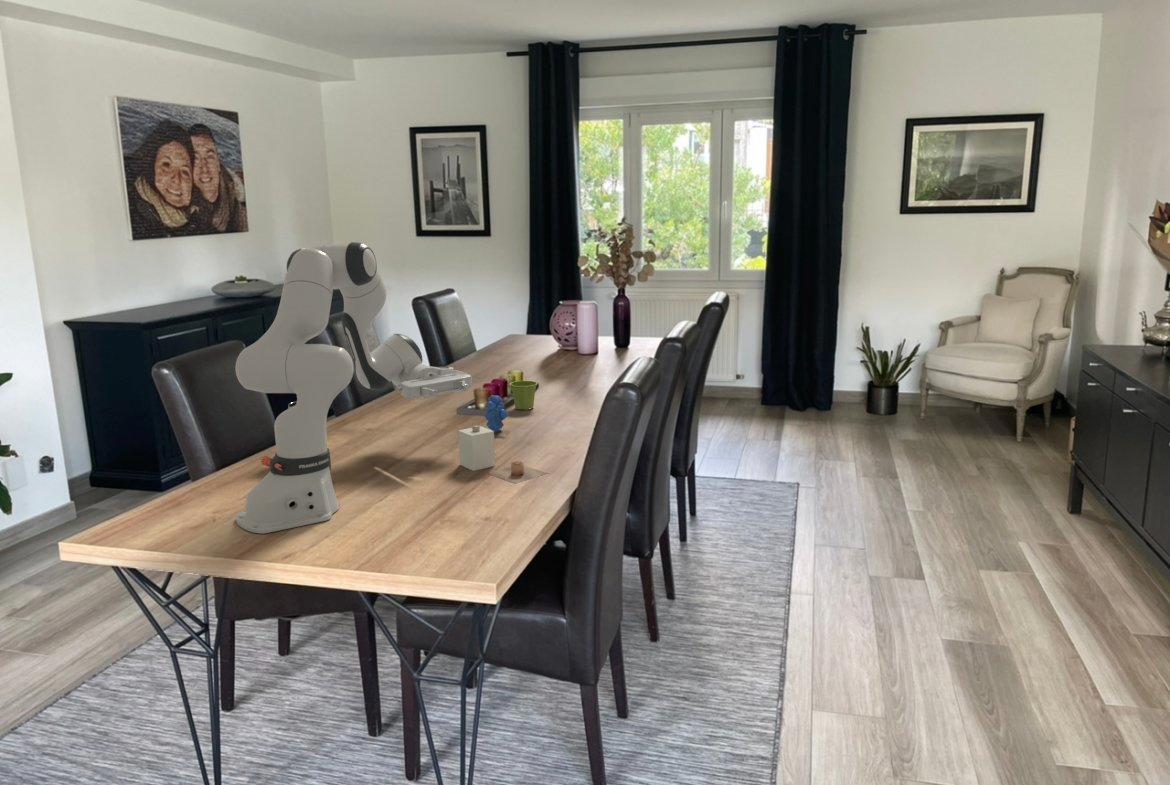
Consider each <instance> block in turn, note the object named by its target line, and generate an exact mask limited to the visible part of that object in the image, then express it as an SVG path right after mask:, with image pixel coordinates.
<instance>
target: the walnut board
mask: <svg viewBox="0 0 1170 785" xmlns="http://www.w3.org/2000/svg"><path fill="white" fill-rule="evenodd" d="M547 474H549V473H548V472H545V471H543V470H542V471H541V470H539V469H537V468H536V469H535V468H533V467H530V466H527V465H525V464H524V474H523V475H518V476H516V475H512V474H511V466H509V467H505V468H502V469H498V470H495V471H491V472H488V473H487V475H489V476H492V477H496V478H498V479H500V480H503V481H506V482H508V483H511V484H518V483H523V482H524V481H529V480H532V479H535V478H537V477H541V476H544V475H547Z"/></svg>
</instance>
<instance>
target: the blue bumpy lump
mask: <svg viewBox="0 0 1170 785" xmlns="http://www.w3.org/2000/svg"><path fill="white" fill-rule="evenodd" d="M487 401H488V402H486V404H485V405H484V407H485V409H486V410H487V411H486V412H485V413H484V417H485V419H486V421H487V422H486V426H487V429H490V430H492V431H494V434H495V433H498V432H499V431H500V430H501V429H503V427H504V423H503V420H505V419H507V418H508V416H509V413H508V412H507V410H505V408H506V406H505V405H504V404H503V399H502V398H501V397H500V396H499V395H492V394H491V395H490V396H489V397H488V399H487Z"/></svg>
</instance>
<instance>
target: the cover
mask: <svg viewBox="0 0 1170 785" xmlns="http://www.w3.org/2000/svg"><path fill="white" fill-rule="evenodd" d="M457 432H458V433H457V434H458V446H459V447H458V451H459V453H458V454H459V465H460V466H462V467H464V468H466V469H468V470H470V471H473V472H474V471H477V470H483V469H487V468H491V467H495V466H496V457H495V456H496V455H495V454H496V452H495V450H496V449H495V433H494V431H492V430H491V429H489V428H488V427H487V428H486V427H485V426H482V425H477V424H475V425H472V426H471V427H469V428H465V429H459V430H458V431H457Z"/></svg>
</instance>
